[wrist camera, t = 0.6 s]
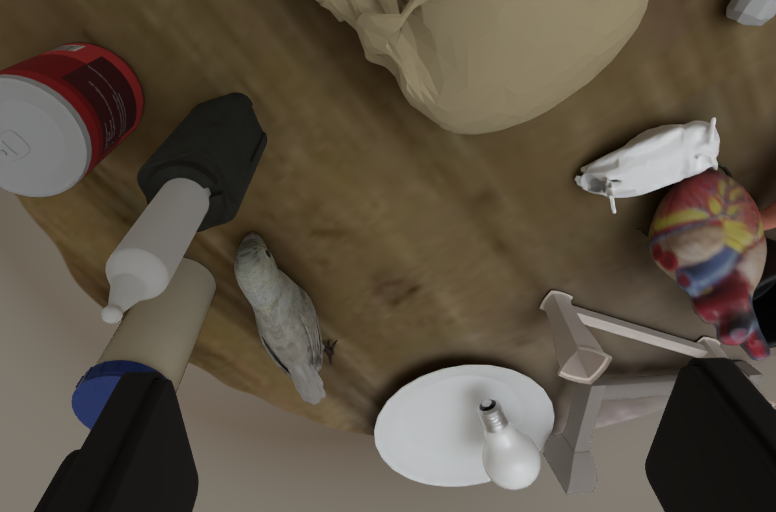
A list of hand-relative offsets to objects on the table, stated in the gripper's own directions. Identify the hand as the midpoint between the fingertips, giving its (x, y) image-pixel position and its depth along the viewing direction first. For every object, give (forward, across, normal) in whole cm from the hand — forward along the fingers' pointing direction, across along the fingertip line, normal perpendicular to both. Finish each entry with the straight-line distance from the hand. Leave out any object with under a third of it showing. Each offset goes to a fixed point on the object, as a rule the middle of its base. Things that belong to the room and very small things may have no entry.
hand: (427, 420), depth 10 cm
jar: (+37, +19, +21) cm, 47 cm away
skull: (+29, +1, -13) cm, 32 cm away
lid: (+22, +19, +22) cm, 36 cm away
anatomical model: (+37, -28, +13) cm, 48 cm away
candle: (+37, +12, +6) cm, 39 cm away
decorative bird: (+37, +9, +23) cm, 45 cm away
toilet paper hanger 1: (+32, -28, +26) cm, 50 cm away
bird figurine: (+33, -18, +10) cm, 39 cm away
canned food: (+37, +22, +3) cm, 43 cm away
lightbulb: (+34, -11, +35) cm, 50 cm away
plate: (+38, -10, +41) cm, 57 cm away
